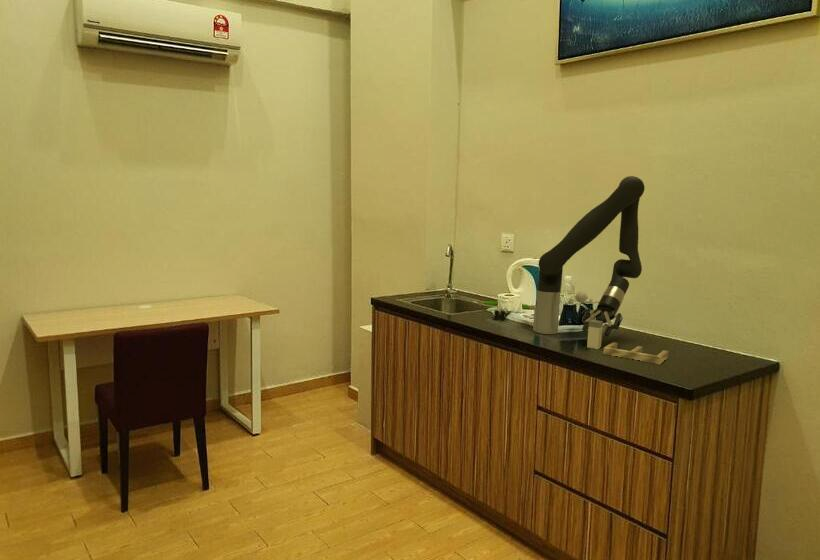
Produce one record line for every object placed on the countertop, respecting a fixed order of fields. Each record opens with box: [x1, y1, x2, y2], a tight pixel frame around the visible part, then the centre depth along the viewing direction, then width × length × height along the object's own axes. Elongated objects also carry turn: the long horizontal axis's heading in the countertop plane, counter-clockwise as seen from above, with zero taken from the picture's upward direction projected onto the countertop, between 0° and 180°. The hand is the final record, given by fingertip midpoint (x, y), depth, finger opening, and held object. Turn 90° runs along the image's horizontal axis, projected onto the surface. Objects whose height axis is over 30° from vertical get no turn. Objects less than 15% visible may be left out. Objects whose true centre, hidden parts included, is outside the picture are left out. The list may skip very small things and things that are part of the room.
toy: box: [567, 290, 594, 305], centre depth 281 cm, size 11×7×15 cm, turn 84°
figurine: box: [476, 300, 537, 321], centre depth 298 cm, size 28×6×30 cm
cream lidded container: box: [586, 319, 604, 350], centre depth 240 cm, size 4×4×10 cm
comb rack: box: [602, 341, 669, 365], centre depth 230 cm, size 20×12×2 cm, turn 56°
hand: (594, 333), depth 240 cm, fingers open, 8 cm apart
